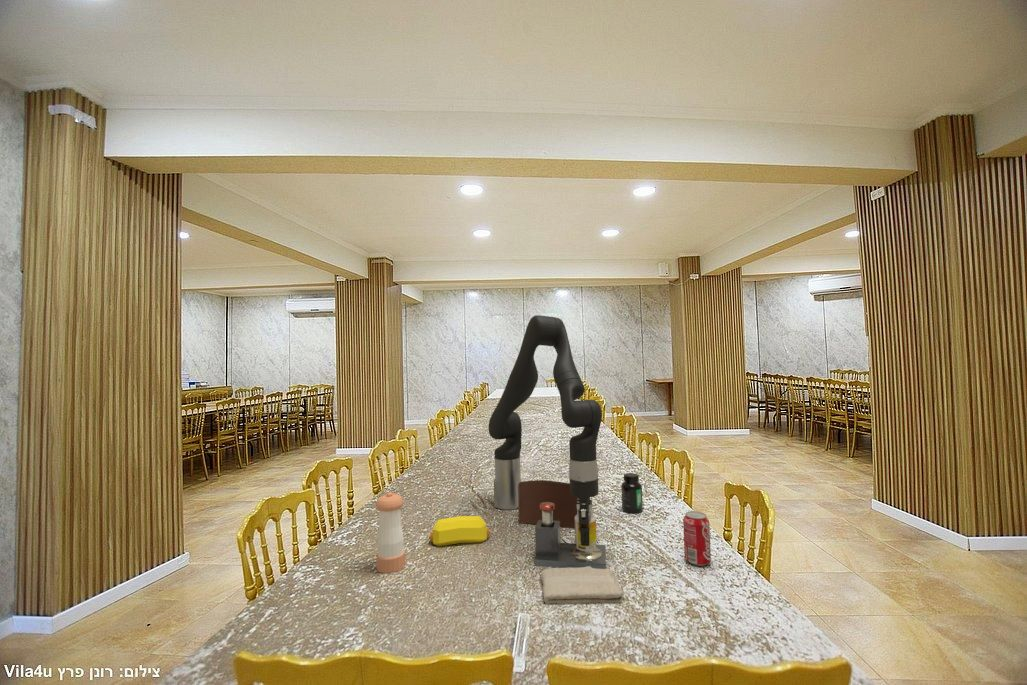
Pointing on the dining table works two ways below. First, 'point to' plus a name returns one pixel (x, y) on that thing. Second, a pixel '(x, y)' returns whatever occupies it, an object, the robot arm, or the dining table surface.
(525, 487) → the letter holder
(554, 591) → the washcloth
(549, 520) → the pin
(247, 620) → the dining table surface
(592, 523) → the supplement bottle
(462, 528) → the yellow sponge block
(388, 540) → the pepper shaker
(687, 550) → the beverage can
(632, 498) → the supplement bottle
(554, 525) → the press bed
